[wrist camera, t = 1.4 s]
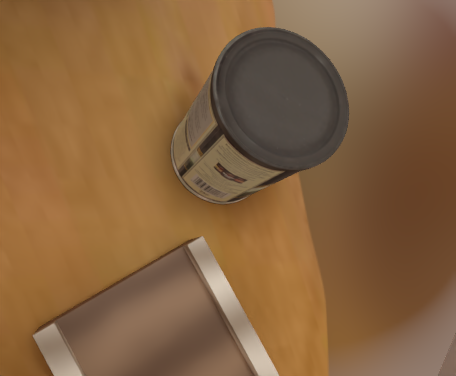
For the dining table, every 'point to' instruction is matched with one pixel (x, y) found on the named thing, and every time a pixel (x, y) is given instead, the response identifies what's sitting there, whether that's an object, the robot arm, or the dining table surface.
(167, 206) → the dining table surface
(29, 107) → the dining table surface
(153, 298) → the plinth
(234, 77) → the coffee can
